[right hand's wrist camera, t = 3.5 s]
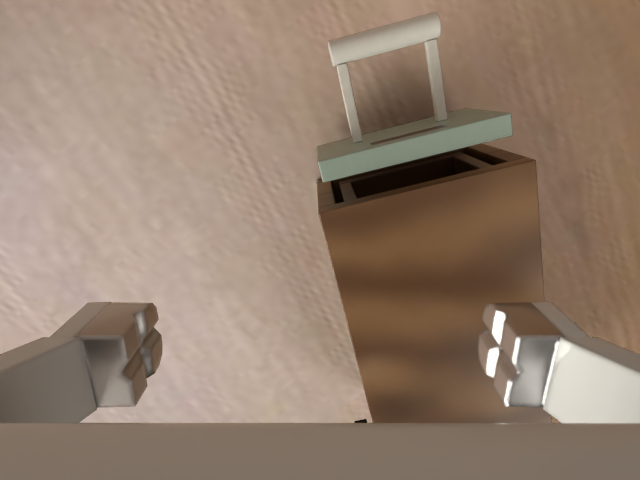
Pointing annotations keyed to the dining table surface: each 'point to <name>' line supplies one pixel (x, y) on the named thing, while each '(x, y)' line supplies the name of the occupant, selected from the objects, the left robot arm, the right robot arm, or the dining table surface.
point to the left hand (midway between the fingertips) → (469, 414)
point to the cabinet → (435, 284)
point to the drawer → (406, 138)
